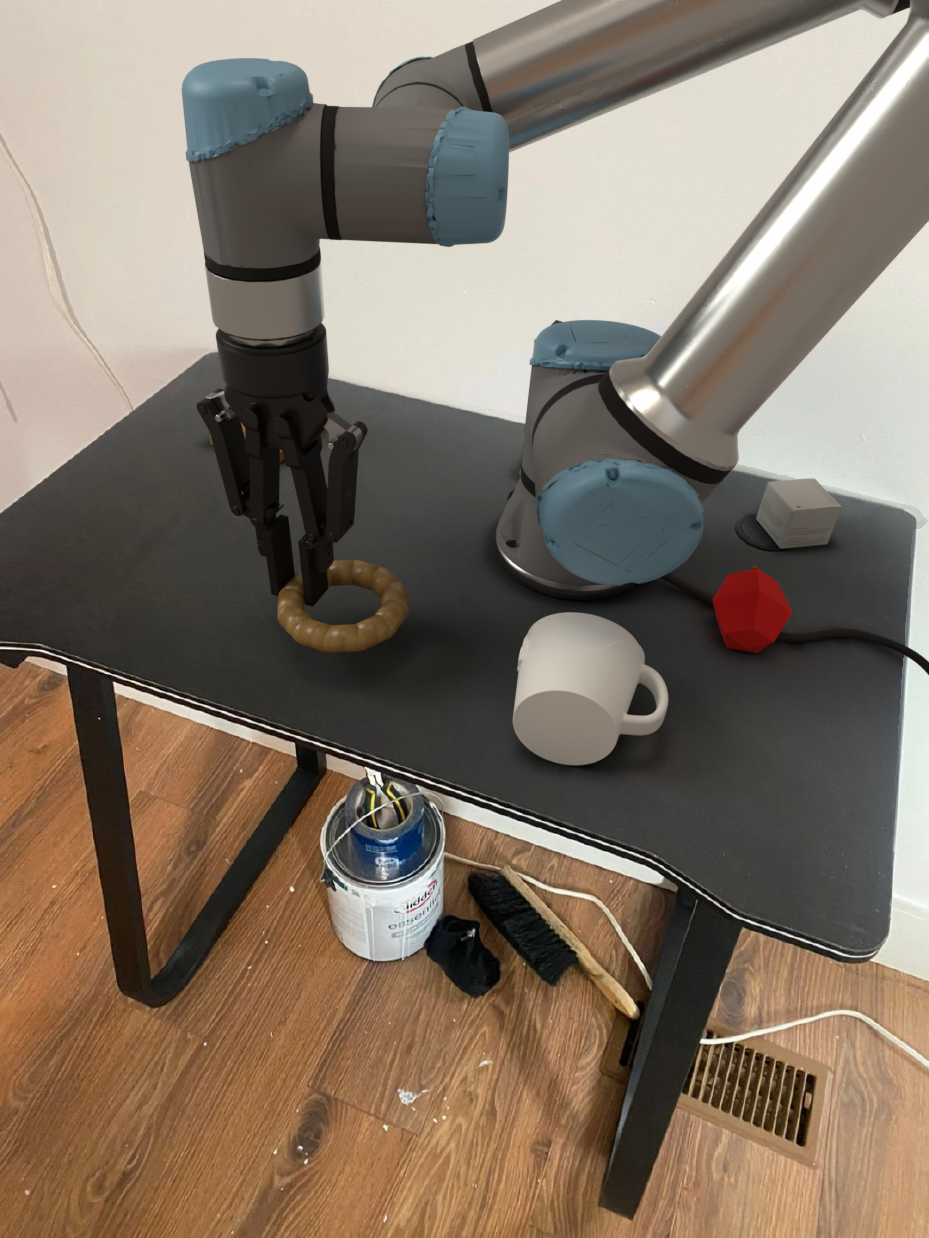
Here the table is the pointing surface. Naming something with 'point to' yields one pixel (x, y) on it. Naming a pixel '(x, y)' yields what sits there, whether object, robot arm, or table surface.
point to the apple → (750, 610)
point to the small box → (798, 513)
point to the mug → (581, 688)
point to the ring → (349, 634)
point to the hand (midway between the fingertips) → (300, 591)
